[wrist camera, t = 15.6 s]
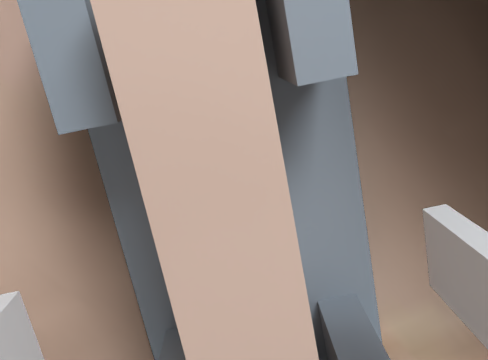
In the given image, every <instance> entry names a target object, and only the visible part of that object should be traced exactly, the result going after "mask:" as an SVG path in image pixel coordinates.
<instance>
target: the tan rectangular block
mask: <svg viewBox="0 0 488 360" xmlns="http://www.w3.org/2000/svg"><path fill="white" fill-rule="evenodd" d="M90 2H91V6H92V10H93V13H94V17H95V21H96V25H97V28H98V32H99V36H100V40H101V43H102V47H103V51H104V55H105V58H106V62H107V66H108V70H109V73H110V77H111V81H112V85H113V88H114V92H115V96H116V100H117V103H118V107H119V111H120V115H121V118H122V122H123V126H124V130H125V133H126V137H127V141H128V145H129V148H130V152H131V156H132V160H133V163H134V167H135V171H136V175H137V178H138V182H139V186H140V190H141V193H142V197H143V201H144V205H145V208H146V212H147V216H148V220H149V223H150V227H151V231H152V235H153V238H154V242H155V246H156V250H157V253H158V257H159V261H160V265H161V268H162V272H163V276H164V280H165V283H166V287H167V291H168V295H169V298H170V302H171V306H172V310H173V313H174V317H175V321H176V325H177V328H178V332H179V336H180V340H181V343H182V347H183V351H184V354H185V358H186V360H319V357H318V352H317V346H316V340H315V335H314V329H313V323H312V318H311V312H310V306H309V301H308V295H307V289H306V284H305V278H304V272H303V267H302V261H301V255H300V250H299V244H298V238H297V233H296V227H295V221H294V216H293V210H292V204H291V199H290V193H289V188H288V182H287V176H286V171H285V165H284V159H283V154H282V148H281V142H280V137H279V131H278V125H277V120H276V114H275V108H274V103H273V97H272V91H271V86H270V80H269V74H268V69H267V63H266V57H265V52H264V46H263V40H262V35H261V29H260V23H259V18H258V12H257V6H256V1H255V0H90Z"/></svg>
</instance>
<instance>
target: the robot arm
mask: <svg viewBox="0 0 488 360" xmlns="http://www.w3.org/2000/svg"><path fill="white" fill-rule="evenodd" d="M422 211H423V221H424V231H425V242H426V252H427V263H428V273H429V283H430V286H431V287H432V288H433V289H434V291H435V292H436V293H437V294H438V295H439V296H440V297H441V298H442V299H443V301H444V302H445V303H446V304H447V305H448V306H449V307H450V308H451V309H452V311H453V312H454V313H455V314H456V315H457V316H458V317H459V318H460V319H461V320H462V322H463V323H464V324H465V325H466V326H467V327H468V328H469V329H470V330H471V332H472V333H473V334H474V335H475V336H476V337H477V338H478V339H479V340H480V342H481V343H482V344H483V345H484V346H485V347H486V348H487V349H488V232H487V231H485V230H484V229H482V228H481V227H479V226H478V225H476V224H475V223H473V222H472V221H470V220H469V219H467V218H466V217H464V216H463V215H461V214H460V213H458V212H457V211H455V210H454V209H452V208H451V207H450V206H448V205H447V204H444V205H439V206H434V207H429V208H424V209H422ZM0 360H44V357H43V354H42V352H41V349H40V346H39V344H38V341H37V338H36V335H35V333H34V330H33V327H32V325H31V322H30V319H29V316H28V314H27V311H26V308H25V306H24V303H23V300H22V297H21V295H20V292H19V291H16V292H11V293H6V294H1V295H0Z"/></svg>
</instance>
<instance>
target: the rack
mask: <svg viewBox="0 0 488 360" xmlns="http://www.w3.org/2000/svg"><path fill="white" fill-rule="evenodd" d="M255 1H256V6H257V12H258V18H259V23H260V29H261V35H262V40H263V46H264V52H265V57H266V63H267V69H268V74H269V80H270V86H271V91H272V97H273V103H274V108H275V114H276V120H277V125H278V131H279V137H280V142H281V148H282V154H283V159H284V165H285V171H286V176H287V182H288V188H289V193H290V199H291V204H292V210H293V216H294V221H295V227H296V233H297V238H298V244H299V250H300V255H301V261H302V267H303V272H304V278H305V284H306V289H307V295H308V301H309V306H310V312H311V318H312V323H313V329H314V335H315V340H316V346H317V352H318V357H319V360H390V358H389V356H388V354H387V352H386V351H385V349H384V347H383V345H382V339H381V331H380V324H379V316H378V309H377V301H376V294H375V287H374V279H373V272H372V264H371V257H370V249H369V242H368V234H367V227H366V220H365V212H364V205H363V197H362V190H361V182H360V175H359V167H358V160H357V153H356V145H355V138H354V130H353V123H352V115H351V108H350V100H349V93H348V86H347V78H346V77H347V76H352V75H357V74H358V67H357V59H356V51H355V43H354V36H353V28H352V20H351V12H350V4H349V0H255ZM17 2H18V5H19V8H20V12H21V15H22V18H23V21H24V25H25V28H26V31H27V34H28V38H29V41H30V44H31V47H32V51H33V54H34V57H35V60H36V64H37V67H38V70H39V73H40V77H41V80H42V83H43V86H44V90H45V93H46V96H47V99H48V103H49V106H50V109H51V112H52V116H53V119H54V122H55V125H56V128H57V132H58V135H60V134H65V133H70V132H75V131H80V130H85V129H88V132H89V135H90V139H91V142H92V146H93V149H94V153H95V156H96V159H97V163H98V166H99V170H100V173H101V177H102V180H103V184H104V187H105V191H106V194H107V197H108V201H109V204H110V208H111V211H112V215H113V218H114V222H115V225H116V228H117V232H118V235H119V239H120V242H121V246H122V249H123V253H124V256H125V259H126V263H127V266H128V270H129V273H130V277H131V280H132V284H133V287H134V291H135V294H136V297H137V301H138V304H139V308H140V311H141V315H142V318H143V322H144V325H145V328H146V332H147V335H148V339H149V342H150V346H151V349H152V353H153V356H154V359H155V360H186V358H185V354H184V351H183V347H182V343H181V340H180V336H179V332H178V328H177V325H176V321H175V317H174V313H173V310H172V306H171V302H170V298H169V295H168V291H167V287H166V283H165V280H164V276H163V272H162V268H161V265H160V261H159V257H158V253H157V250H156V246H155V242H154V238H153V235H152V231H151V227H150V223H149V220H148V216H147V212H146V208H145V205H144V201H143V197H142V193H141V190H140V186H139V182H138V178H137V175H136V171H135V167H134V163H133V160H132V156H131V152H130V148H129V145H128V141H127V137H126V133H125V130H124V126H123V122H122V118H121V115H120V111H119V107H118V103H117V100H116V96H115V92H114V88H113V85H112V81H111V77H110V73H109V70H108V66H107V62H106V58H105V55H104V51H103V47H102V43H101V40H100V36H99V32H98V28H97V25H96V21H95V17H94V13H93V10H92V6H91V2H90V0H17Z"/></svg>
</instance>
